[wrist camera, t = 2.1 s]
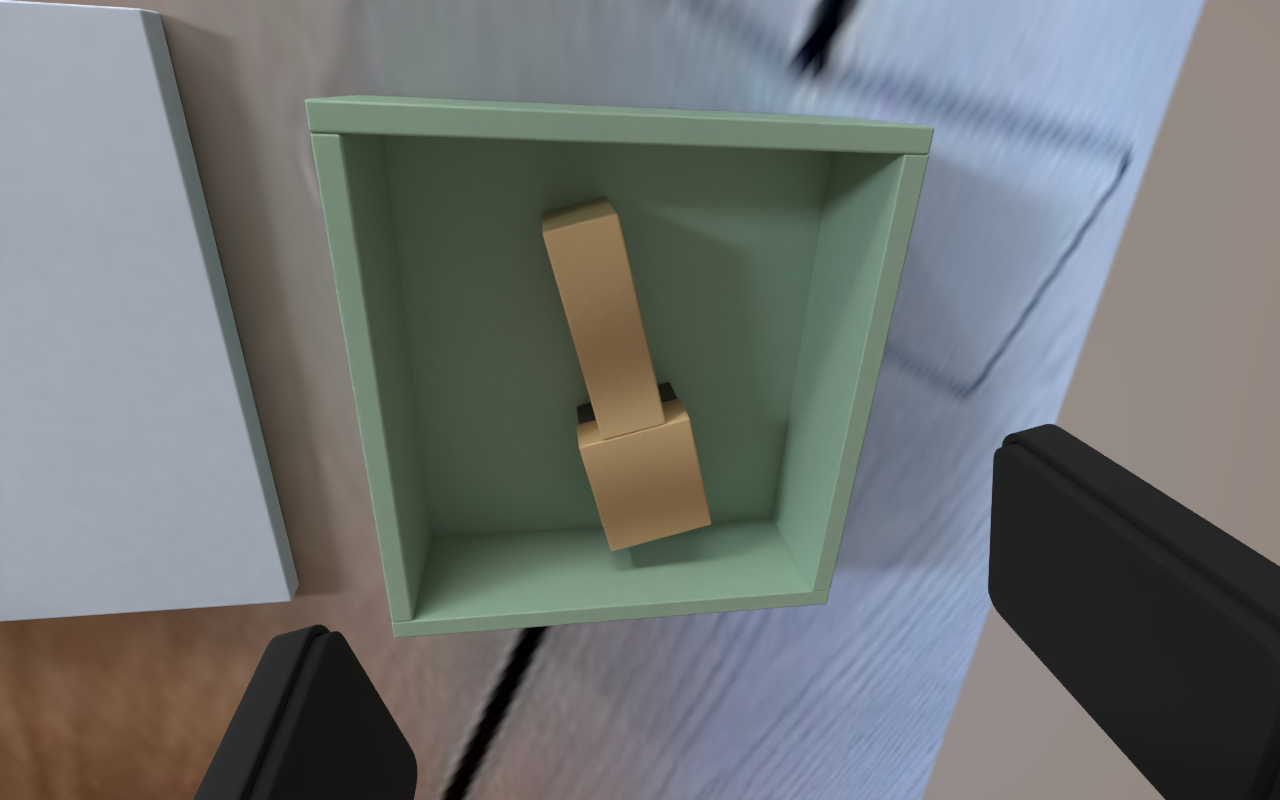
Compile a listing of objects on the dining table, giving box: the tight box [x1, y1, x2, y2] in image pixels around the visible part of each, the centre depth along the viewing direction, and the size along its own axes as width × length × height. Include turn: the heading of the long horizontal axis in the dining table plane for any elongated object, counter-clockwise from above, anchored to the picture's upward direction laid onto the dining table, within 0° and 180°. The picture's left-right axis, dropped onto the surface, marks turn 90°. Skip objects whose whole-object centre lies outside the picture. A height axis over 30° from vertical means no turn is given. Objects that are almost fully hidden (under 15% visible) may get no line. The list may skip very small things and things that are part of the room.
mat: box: [0, 0, 299, 621], centre depth 20 cm, size 20×12×1 cm, turn 178°
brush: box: [541, 197, 711, 551], centre depth 22 cm, size 12×4×3 cm, turn 13°
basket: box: [305, 95, 934, 638], centre depth 21 cm, size 16×15×5 cm
